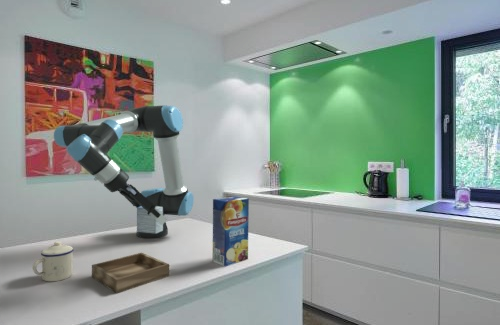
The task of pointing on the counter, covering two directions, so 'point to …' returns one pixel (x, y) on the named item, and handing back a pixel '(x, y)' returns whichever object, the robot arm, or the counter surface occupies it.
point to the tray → (129, 272)
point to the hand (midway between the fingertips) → (158, 219)
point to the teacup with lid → (56, 262)
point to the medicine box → (148, 221)
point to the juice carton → (230, 230)
